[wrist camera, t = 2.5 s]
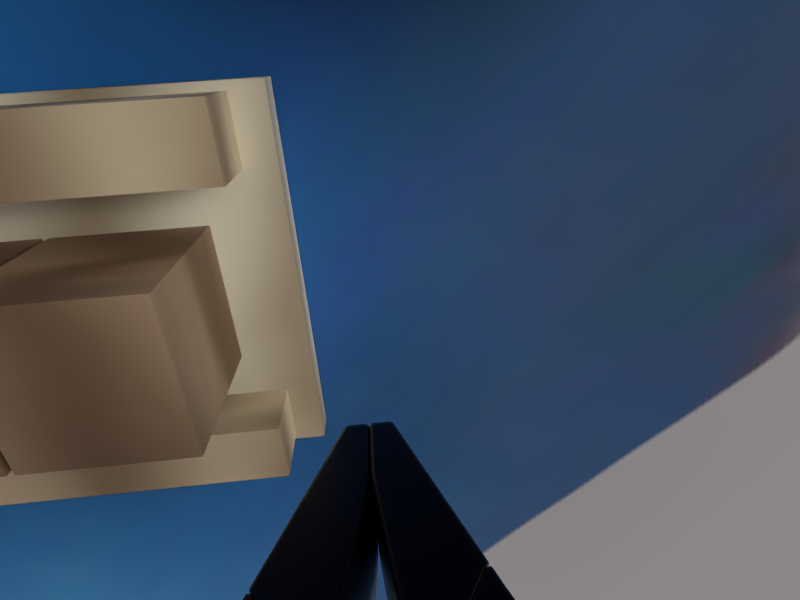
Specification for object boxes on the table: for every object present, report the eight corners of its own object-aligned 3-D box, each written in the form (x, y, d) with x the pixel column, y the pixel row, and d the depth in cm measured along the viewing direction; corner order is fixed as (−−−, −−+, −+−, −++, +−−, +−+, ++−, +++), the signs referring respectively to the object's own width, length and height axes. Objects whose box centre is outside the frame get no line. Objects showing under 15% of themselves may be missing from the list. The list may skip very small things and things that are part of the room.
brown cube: (209, 225, 14) (149, 293, 10) (241, 356, 16) (203, 456, 12) (49, 237, 14) (-80, 312, 10) (102, 369, 16) (14, 475, 12)
